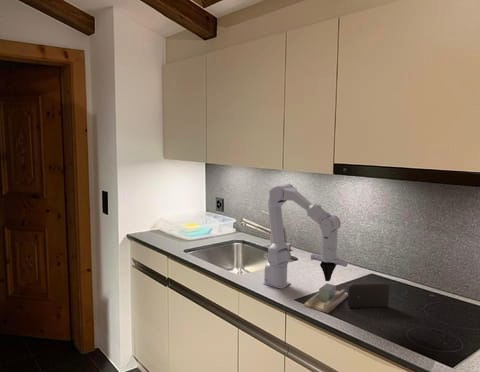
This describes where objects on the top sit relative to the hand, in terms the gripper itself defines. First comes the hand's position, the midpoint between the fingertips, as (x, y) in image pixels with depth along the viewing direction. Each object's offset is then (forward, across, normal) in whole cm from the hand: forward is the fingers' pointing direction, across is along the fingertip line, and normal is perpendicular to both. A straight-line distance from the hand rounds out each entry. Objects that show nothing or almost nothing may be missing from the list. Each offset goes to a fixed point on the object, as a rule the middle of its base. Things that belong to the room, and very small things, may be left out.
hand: (327, 280), depth 158 cm
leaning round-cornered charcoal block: (+9, +15, +4) cm, 18 cm away
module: (+7, 0, 0) cm, 7 cm away
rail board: (+8, 0, 0) cm, 8 cm away
